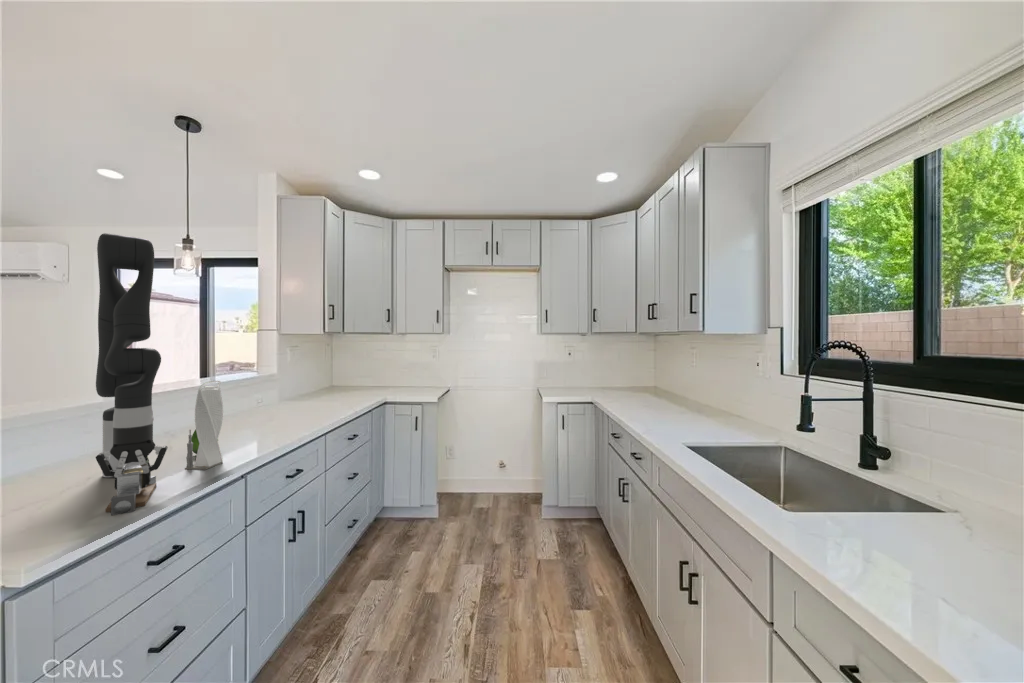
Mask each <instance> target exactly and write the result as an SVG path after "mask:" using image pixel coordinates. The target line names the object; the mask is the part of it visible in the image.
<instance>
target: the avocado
mask: <svg viewBox="0 0 1024 683" xmlns="http://www.w3.org/2000/svg"><path fill="white" fill-rule="evenodd" d="M191 435H192V438H191V442H193V450H192V453H193V454H196V455H197V452H198V448H199V440H198V437H197V432H196V428H194V432H193V433H192V434H191Z"/></svg>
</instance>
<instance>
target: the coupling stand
mask: <svg viewBox="0 0 1024 683" xmlns="http://www.w3.org/2000/svg"><path fill="white" fill-rule="evenodd" d="M156 488H157V475H151V481H150V483H149V485H147V486H146V487H144V488H142V490H141V492H140V493H139V494H136V493H131V494H124V495H118V496H117V494H116V495H113V496H112V497H110V498H111V499H110V503H109V504H108V505H107V506H106V507H105V513H110V516H113V515H114V516H115V515H120V514H125V513H131V512H135V510H136V509H137V508H139V507H144V506H146V505H147V503H148V501H149V500H150V499H151V496H152V495H153V494H154V492H155V489H156Z"/></svg>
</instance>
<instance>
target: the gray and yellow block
mask: <svg viewBox="0 0 1024 683" xmlns="http://www.w3.org/2000/svg"><path fill="white" fill-rule="evenodd" d="M142 474H143V470H142V467H141V466H140V465H136V466H128V467H126V469H125V470H124V473H123V474H120V475H119V476H118V477H117V489H116V495H117V496H118V495H124V494H131V493H136V494H139V493H140V492H141V490H142Z"/></svg>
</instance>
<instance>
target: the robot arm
mask: <svg viewBox="0 0 1024 683" xmlns="http://www.w3.org/2000/svg"><path fill="white" fill-rule="evenodd" d="M96 245H97V247H96V249H97V250H96V252H97V266H98V279H99V280H98V281H99V295H98V296H99V297H98V311H97V312H98V313H97V329H98V330H97V332H98V334H97V336H98V357H97V366H96V367H97V368H96V375H95V390H96V393H97V395H98V396H99V397H101V398H114V407H110V408H107V409H105V410H104V411H103V412H102V452H100V453H99V454H97V455H96V456H95V459H96V462H97V463H98V466H99V468H100V469H101V472H102V477H103V478H114V490H117V477H118V476H119V475H120V474H123V473H124V470H125V469H126V467H128V466H136V465H140V466H141V467H142V470H143V474H142V488H144V487H146V486H147V485H149V483H150V481H151V476H152V475H151V473H152V472H153V471H157V470H159V467H160V466H161V464H162V462H163V459H164V457H165V455H166V452H167V450H168V448H169V447H168V446H167V445H163V446H160V445H156V443H155V442H154V410H153V406H152V405H153V400H152V399H153V396H152V395H153V394H152V393H153V387H154V382H155V378H156V376H157V373H158V372H159V368H160V366H161V363H162V356H161V354H160V352H159V351H158V350H157V349H155V348H151V347H141V348H140V347H130V346H131V345H132V344H133V343H137V342H144V341H146V340H149V339H150V337H151V317H150V316H151V315H150V314H151V313H150V307H151V296H152V290H153V281H154V270H155V269H154V268H155V250H154V248H155V247H154V246H153V243H152V241H151V240H149V239H147V238H143V237H142V238H141V237H135V236H129V235H122V234H121V235H120V234H115V233H105V232H104V233H101V234H100V236H98V240H97V244H96ZM116 269H120V270H131V271H138V275H137V278H136V280H135V282H134V283H133V284H132V286H131V287H130V288H129V289H128V290H127V289H126V288H125V287H124V286H123V284H122V283H121V281H120V279H119V278H118V276H117V273H116V272H115V270H116ZM153 451H155V452H154V453H155V454H156V455H157V456H156V459H155V461H154V463H153V464H151V463H150V459H149V457H148V456H149V455H150V454H151V453H152V452H153Z"/></svg>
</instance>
